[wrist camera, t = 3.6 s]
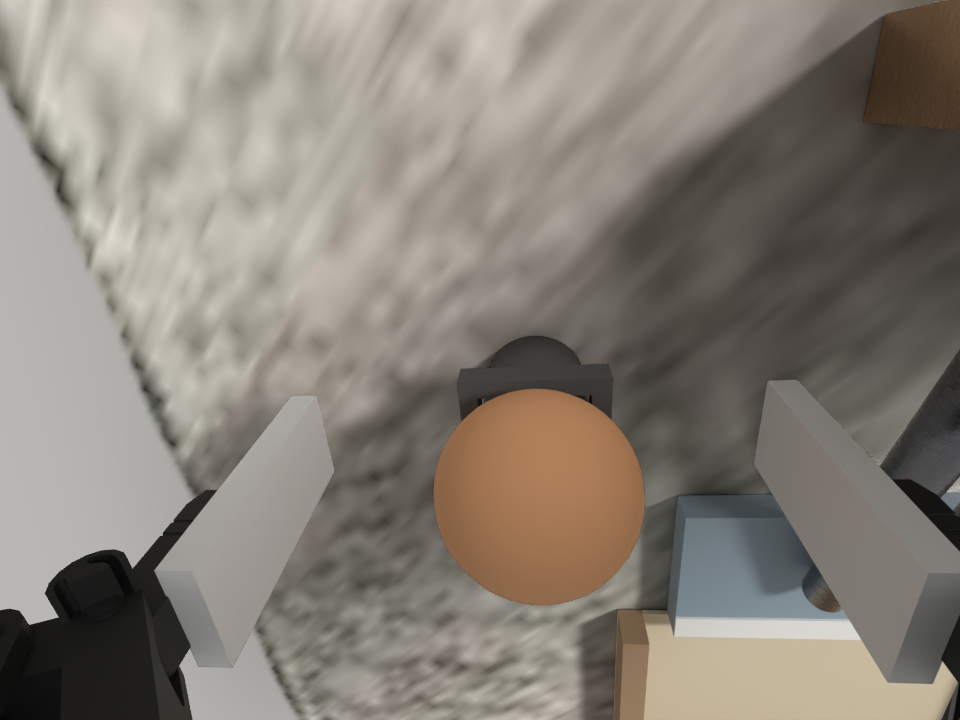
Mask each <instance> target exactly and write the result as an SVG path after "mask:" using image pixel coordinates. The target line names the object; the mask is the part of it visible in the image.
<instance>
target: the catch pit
mask: <svg viewBox="0 0 960 720" xmlns="http://www.w3.org/2000/svg"><path fill="white" fill-rule="evenodd" d="M957 684H958V682H957V681H956V679H955V678H954V676H953V675H952V674H951V672H950V671H949V670H948V668H947V667H946V665H945V664H944V663H943V661H942V664H941V666H940V669H939V671H938V673H937V676H936V678H935V680H934V683H933V684H909V683H887V681H886V679H885V678H884V676H883V674H882V673H881V671H880V670H879V668H878V666H877V665H876V663H875V661H874V660H873V658H872V656H871V655H870V653H869V652H868V650H867V648H866V647H865V645H864V643H863V642H862V640H828V639H776V638H723V637H674V636H673V632H672V628H671V624H670V620H669V617H668V613H667V610H617V635H616V661H615V687H614V713H613V720H941V719H942V717H943V715H944V713H945V710H946V708H947V706H948V704H949V702H950V699H951V697H952V695H953V693H954V691H955V689H956V686H957Z"/></svg>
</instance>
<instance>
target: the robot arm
mask: <svg viewBox="0 0 960 720" xmlns="http://www.w3.org/2000/svg"><path fill="white" fill-rule="evenodd" d="M754 465H755V467H756V468H757V470H758V471H759V473H760V475H761V476H762V478H763V480H764V481H765V483H766V485H767V486H768V488H769V489H770V491H771V493H772V494H773V496H774V498H775V499H776V501H777V503H778V504H779V506H780V507H781V509H782V511H783V512H784V514H785V516H786V517H787V519H788V521H789V522H790V524H791V525H792V527H793V529H794V530H795V532H796V534H797V535H798V537H799V539H800V540H801V542H802V543H803V545H804V547H805V548H806V550H807V552H808V553H809V555H810V557H811V558H812V560H813V562H814V563H815V565H816V566H817V568H818V570H819V571H820V573H821V575H822V576H823V578H824V580H825V581H826V583H827V584H828V586H829V588H830V589H831V591H832V593H833V594H834V596H835V598H836V599H837V601H838V602H839V604H840V606H841V607H842V609H843V611H844V612H845V614H846V616H847V617H848V619H849V620H850V622H851V624H852V625H853V627H854V629H855V630H856V632H857V634H858V635H859V637H860V638H861V640H862V642H863V643H864V645H865V647H866V648H867V650H868V652H869V653H870V655H871V656H872V658H873V660H874V661H875V663H876V665H877V666H878V668H879V670H880V671H881V673H882V674H883V676H884V678H885V679H886V681H887V683H909V684H933V683H934V680H935V678H936V676H937V673H938V671H939V669H940V666H941V664H942V661H943V663H944V664H945V665H946V667H947V668H948V670H949V671H950V672H951V674H952V675H953V676H954V678H955V679H956V681H957V682H958V684H957V686H956V689H955V691H954V693H953V695H952V697H951V699H950V702H949V704H948V706H947V708H946V710H945V713H944V715H943V717H942V719H941V720H960V517H959V516H956V515H955V512H954V511H953V510H952V509H951V508H950V507H949V506H948V505H947V504H946V503H945V502H944V501H943V500H942V499H941V498H940V497H939V496H938V495H937V494H935V493H933V492H931V491H930V490H928V489H926V488H925V487H923V486H921V485H920V484H918V483H916V482H915V481H913V480H911V479H891V478H890V477H889V476H888V475H887V474H886V473H885V472H884V471H883V470H882V469H881V468H880V467H879V466H878V465H877V464H876V463H875V461H874V460H873V459H872V458H871V457H870V456H869V455H868V454H867V453H866V452H865V451H864V450H863V449H862V448H861V447H860V446H859V445H858V443H857V442H856V441H855V440H854V439H853V438H852V437H851V436H850V435H849V434H848V433H847V432H846V431H845V430H844V429H843V428H842V427H841V425H840V424H839V423H838V422H837V421H836V420H835V419H834V418H833V417H832V416H831V415H830V414H829V413H828V412H827V411H826V410H825V409H824V407H823V406H822V405H821V404H820V403H819V402H818V401H817V400H816V399H815V398H814V397H813V396H812V395H811V394H810V393H809V392H808V391H807V389H806V388H805V387H804V386H803V385H802V384H801V383H800V382H799V381H798V380H777V381H767V387H766V393H765V399H764V406H763V412H762V418H761V424H760V430H759V436H758V442H757V448H756V454H755V460H754ZM333 473H334V467H333V463H332V459H331V454H330V450H329V446H328V442H327V438H326V434H325V430H324V425H323V421H322V417H321V413H320V409H319V405H318V401H317V396H291V398H290V399H289V400H288V402H287V403H286V404H285V405H284V407H283V408H282V409H281V410H280V412H279V413H278V414H277V415H276V417H275V418H274V419H273V421H272V422H271V423H270V424H269V426H268V427H267V428H266V429H265V431H264V432H263V433H262V435H261V436H260V437H259V438H258V440H257V441H256V442H255V443H254V445H253V446H252V447H251V448H250V450H249V451H248V452H247V454H246V455H245V456H244V457H243V459H242V460H241V461H240V462H239V464H238V465H237V466H236V467H235V469H234V470H233V471H232V473H231V474H230V475H229V476H228V478H227V479H226V480H225V481H224V483H223V484H222V485H221V486H220V488H219V489H218V490H206V491H204V492H203V493H202V494H200V495H199V496H197V497H196V498H195V499H193V500H192V501H191V502H189V503H188V504H187V505H186V506H185V507H184V508H183V509H182V511H181V512H180V513H179V514H178V515H177V517H176V518H175V519H174V522H173V523H171V524H170V525H169V526H168V527H167V528H166V530H165V531H164V532H163V536H160V537H159V538H158V539H157V540H156V542H155V543H154V544H153V545H152V546H151V548H150V549H149V550H148V551H147V553H146V554H145V555H144V556H143V557H142V558H141V560H140V561H139V562H138V563H137V565H136V566H135V567H134V568H133V569H132V567H131V565H130V563H129V561H128V559H127V557H126V555H125V554H124V553H123V552H121V551H118V550H102V551H98V552H95V553H92V554H89V555H86V556H84V557H82V558H80V559H78V560H76V561H74V562H72V563H71V564H70V565H68V566H67V567H65V568H64V569H63V570H61V571H60V572H59V573H58V574H57V575H56V576H55V577H54V578H53V579H52V581H51V582H50V583H49V585H48V587H47V590H46V592H45V595H46V596H47V598H48V600H49V601H50V603H51V605H52V606H53V608H54V610H55V611H56V613H57V615H58V617H59V618H55V619H51V620H47V621H43V622H40V623H35V624H31V625H29V624H28V623H27V621H26V620H25V618H24V616H23V615H22V614H21V613H20V611H18V610H13V609H5V610H0V720H192V715H191V710H190V705H189V700H188V694H187V689H186V684H185V679H184V675H183V673H182V671H181V669H180V667H179V665H180V663H181V661H182V660H183V658H184V657H185V655H186V653H187V652H188V650H189V649H191V651H192V653H193V656H194V658H195V660H196V662H197V665H198V667H233V666H234V664H235V662H236V660H237V659H238V657H239V655H240V653H241V651H242V649H243V647H244V645H245V643H246V641H247V639H248V637H249V635H250V633H251V632H252V630H253V628H254V626H255V624H256V622H257V620H258V618H259V616H260V614H261V612H262V610H263V608H264V606H265V604H266V603H267V601H268V599H269V597H270V595H271V593H272V591H273V589H274V587H275V585H276V583H277V581H278V579H279V577H280V575H281V574H282V572H283V570H284V568H285V566H286V564H287V562H288V560H289V558H290V556H291V554H292V552H293V550H294V548H295V547H296V545H297V543H298V541H299V539H300V537H301V535H302V533H303V531H304V529H305V527H306V525H307V523H308V521H309V519H310V518H311V516H312V514H313V512H314V510H315V508H316V506H317V504H318V502H319V500H320V498H321V496H322V494H323V492H324V490H325V489H326V487H327V485H328V483H329V481H330V479H331V477H332V475H333Z"/></svg>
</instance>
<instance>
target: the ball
mask: <svg viewBox="0 0 960 720" xmlns="http://www.w3.org/2000/svg"><path fill="white" fill-rule="evenodd" d="M434 507H435V514H436V518H437V522H438V526H439V530H440V533H441V535H442V538H443V540H444V542H445V544H446V546H447V548H448V550H449V552H450V553H451V555H452V557H453V558H454V559H455V560H456V562H457V563H458V564H459V565H460V567H461V568H462V569H463V570H464V572H466V573H467V574H468V575H469V576H470V577H471V578H472V579H473V580H474V581H476V582H477V583H478V584H480V585H481V586H482V587H484V588H485V589H487V590H489V591H490V592H492V593H494V594H496V595H498V596H500V597H503V598H506V599H508V600H511V601H515V602H519V603H524V604H530V605H553V604H560V603H564V602H569V601H572V600H575V599H578V598H581V597H583V596H585V595H588V594H590V593H591V592H593V591H595V590H596V589H598V588H599V587H601V586H602V585H603V584H605V583H606V582H607V581H609V580H610V579H611V578H612V577H613V576H614V575H615V574H616V573H617V572H618V571H619V569H620V568H621V567H622V566H623V564H624V563H625V562H626V560H627V559H628V557H629V556H630V554H631V552H632V550H633V548H634V546H635V544H636V542H637V540H638V537H639V534H640V531H641V527H642V523H643V517H644V510H645V489H644V483H643V478H642V473H641V468H640V465H639V463H638V460H637V458H636V455H635V453H634V450H633V448H632V447H631V445H630V443H629V441H628V440H627V438H626V437H625V435H624V434H623V433H622V431H621V430H620V429H619V428H618V426H617V425H616V424H615V423H614V422H613V421H612V420H611V419H610V418H609V417H608V416H607V415H606V414H604V413H603V412H602V411H601V410H599V409H598V408H596V407H595V406H594V405H592V404H590V403H588V402H587V401H585V400H583V399H581V398H578V397H575V396H573V395H570V394H568V393H564V392H560V391H556V390H549V389H524V390H518V391H513V392H509V393H506V394H503V395H500V396H498V397H495V398H493V399H491V400H489V401H487V402H485V403H484V404H482V405H481V406H479V407H478V408H476V409H475V410H474V411H473V412H471V413H470V414H469V415H468V416H467V417H466V418H465V419H464V420H463V421H462V422H461V423H460V424H459V425H458V426H457V427H456V429H455V430H454V432H453V433H452V435H451V437H450V438H449V440H448V441H447V443H446V445H445V447H444V449H443V451H442V454H441V456H440V459H439V462H438V466H437V469H436V474H435V482H434Z"/></svg>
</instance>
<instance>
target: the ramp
mask: <svg viewBox="0 0 960 720" xmlns="http://www.w3.org/2000/svg"><path fill="white" fill-rule="evenodd" d="M863 122H868V123H879V124H891V125H903V126H915V127H926V128H938V129H950V130H960V0H948V1H943V2H939V3H934V4H930V5H925V6H921V7H916V8H912V9H907V10H903V11H898V12H894V13H890V14H885V16H884V21H883V26H882V31H881V35H880V40H879V45H878V50H877V55H876V60H875V65H874V70H873V75H872V80H871V85H870V89H869V94H868V99H867V104H866V109H865V114H864V119H863ZM880 468H881V469H882V470H883V471H884V472H885V473H886V474H887V475H888V476H889V477H890V478H891V479H911V480H913V481H915V482H916V483H918V484H920V485H921V486H923V487H925V488H926V489H928V490H930V491H931V492H933V493H935V494H937V495H938V496H939V497H940V498H941V497H942V496H943V495H944V494H945V493H946V492H947V490H948V489H949V488H950V487H951V486H952V485H953V484H954V482H955V481H956V480H957V479H958V478H959V477H960V349H959V351H958V352H957V354H956V355H955V357H954V358H953V360H952V361H951V363H950V364H949V366H948V367H947V368H946V370H945V371H944V373H943V374H942V376H941V377H940V379H939V380H938V382H937V383H936V385H935V386H934V388H933V389H932V390H931V392H930V393H929V395H928V396H927V398H926V399H925V401H924V402H923V404H922V405H921V407H920V408H919V410H918V411H917V412H916V414H915V415H914V417H913V418H912V420H911V421H910V423H909V424H908V426H907V427H906V429H905V430H904V431H903V433H902V434H901V436H900V437H899V439H898V440H897V442H896V443H895V445H894V446H893V448H892V449H891V451H890V452H889V453H888V455H887V456H886V458H885V459H884V461H883V462H882V464H881V465H880ZM953 511H954V512H955V515H956V516H959V517H960V502H959V503H958V504H957V505H956V507H955V508H954V509H953ZM802 591H803V593H804V595H805V597H806V598H807V600H808V601H809V602H810V603H811V604H812V605H814V606H815V607H816V608H818V609H820V610H822V611H825V612H830V613H836V612H840V611H842V610H843V609H842V607H841V606H840V604H839V602H838V601H837V599H836V598H835V596H834V594H833V593H832V591H831V589H830V588H829V586H828V584H827V583H826V581H825V580H824V578H823V576H822V575H821V573H820V571H819V570H818V568H817V566H816V565H815V563H813V565H812V566H811V568H810V569H809V571H808V572H807V574H806V575H805V576H804V578H803V580H802Z"/></svg>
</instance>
